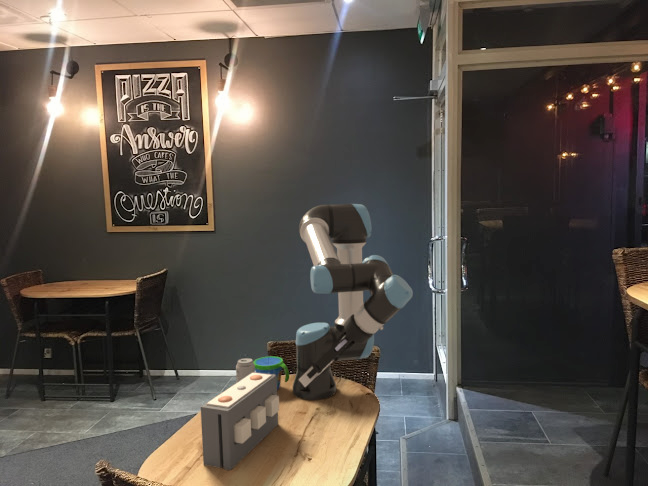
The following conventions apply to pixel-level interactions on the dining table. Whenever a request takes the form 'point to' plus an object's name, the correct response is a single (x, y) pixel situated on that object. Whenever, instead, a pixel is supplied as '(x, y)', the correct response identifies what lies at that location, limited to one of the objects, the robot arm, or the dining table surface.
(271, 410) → the button arm side
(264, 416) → the button middle
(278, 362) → the snack cup
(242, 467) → the dining table surface
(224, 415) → the console
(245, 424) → the button edge side
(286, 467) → the dining table surface
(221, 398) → the pattern card
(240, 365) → the energy drink can
